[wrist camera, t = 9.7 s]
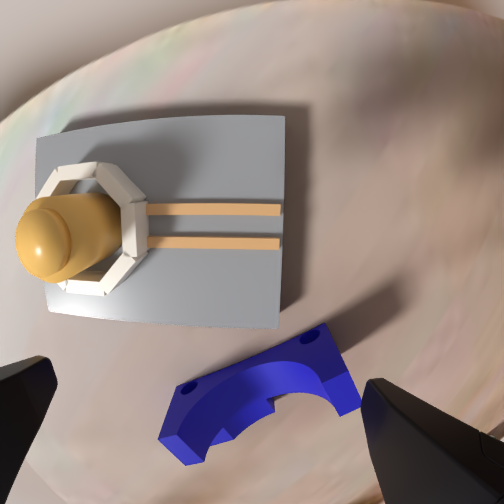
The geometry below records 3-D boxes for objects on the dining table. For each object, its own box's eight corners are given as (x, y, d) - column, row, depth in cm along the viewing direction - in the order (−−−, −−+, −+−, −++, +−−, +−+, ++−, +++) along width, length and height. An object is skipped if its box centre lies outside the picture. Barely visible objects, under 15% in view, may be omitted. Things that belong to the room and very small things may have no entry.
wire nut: (123, 189, 16) (66, 193, 10) (128, 258, 17) (77, 290, 11) (68, 195, 16) (5, 202, 10) (74, 258, 17) (16, 286, 11)
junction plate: (281, 123, 17) (289, 106, 13) (276, 315, 19) (281, 345, 15) (53, 141, 17) (18, 135, 13) (62, 301, 19) (33, 322, 15)
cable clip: (208, 422, 22) (198, 476, 16) (177, 385, 21) (157, 439, 15) (345, 367, 20) (370, 419, 15) (324, 321, 20) (348, 370, 14)
